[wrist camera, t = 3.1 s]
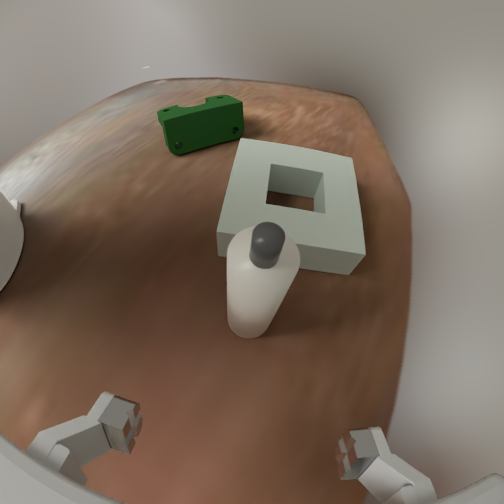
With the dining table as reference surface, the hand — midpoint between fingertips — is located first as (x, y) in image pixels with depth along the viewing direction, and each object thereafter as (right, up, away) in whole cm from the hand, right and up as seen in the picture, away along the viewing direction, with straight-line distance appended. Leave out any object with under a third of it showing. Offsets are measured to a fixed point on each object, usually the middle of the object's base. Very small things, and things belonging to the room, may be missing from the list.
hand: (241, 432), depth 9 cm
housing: (+5, +11, +23) cm, 26 cm away
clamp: (-7, +24, +30) cm, 39 cm away
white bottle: (0, +1, +17) cm, 17 cm away
